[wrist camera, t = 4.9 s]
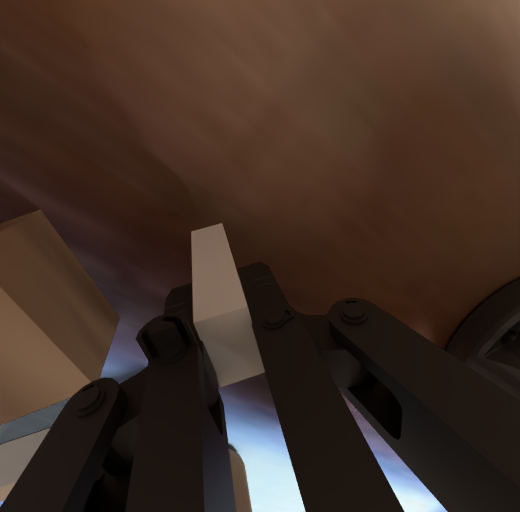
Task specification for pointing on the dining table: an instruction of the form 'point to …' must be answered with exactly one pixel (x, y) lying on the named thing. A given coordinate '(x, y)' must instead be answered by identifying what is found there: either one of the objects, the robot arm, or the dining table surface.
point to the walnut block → (46, 319)
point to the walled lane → (17, 459)
